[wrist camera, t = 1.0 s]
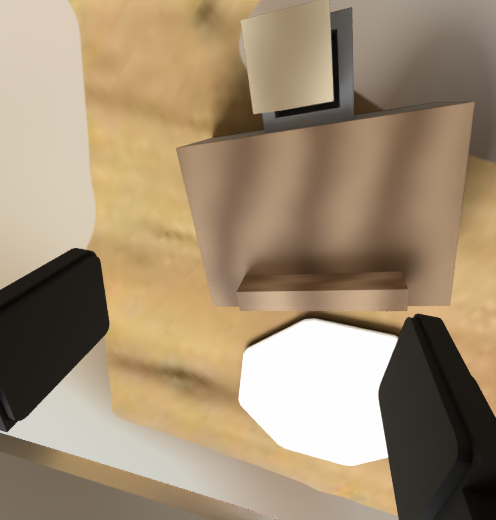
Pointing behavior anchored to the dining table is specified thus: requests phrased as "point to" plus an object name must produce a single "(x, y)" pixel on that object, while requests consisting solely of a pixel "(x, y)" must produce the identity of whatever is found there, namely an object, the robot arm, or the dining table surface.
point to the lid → (333, 212)
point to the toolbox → (342, 91)
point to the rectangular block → (289, 57)
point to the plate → (319, 389)
